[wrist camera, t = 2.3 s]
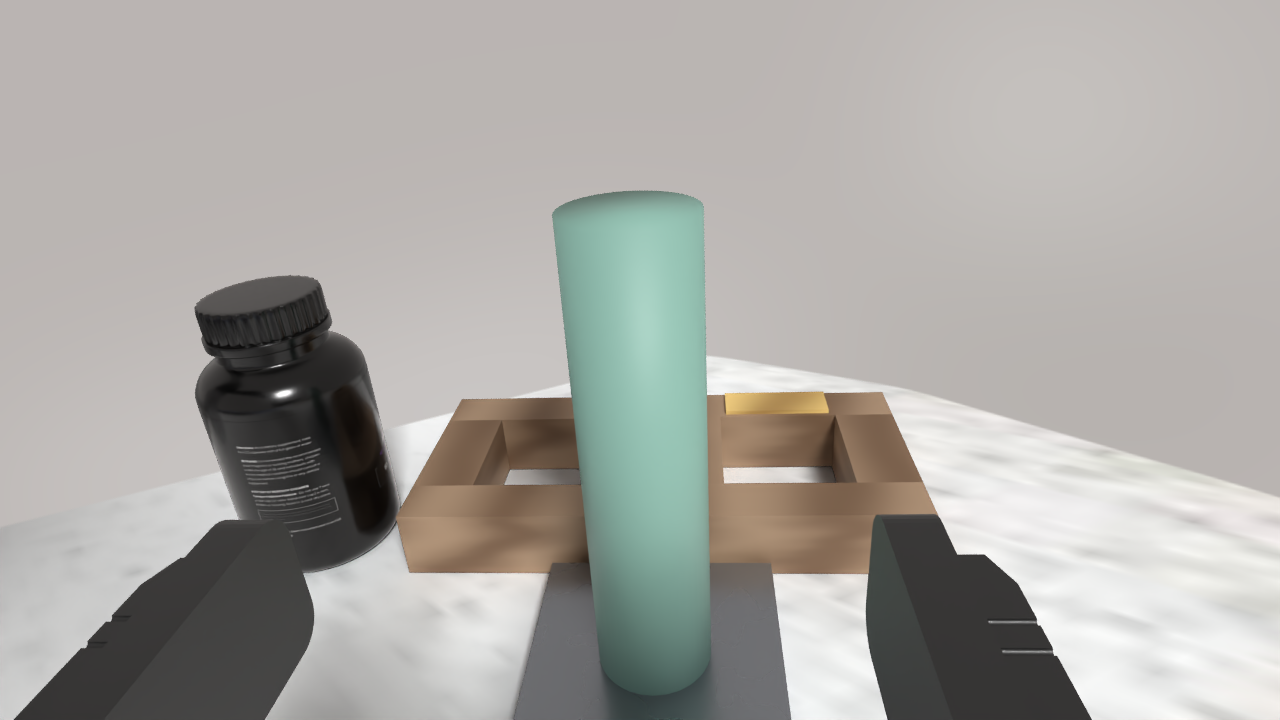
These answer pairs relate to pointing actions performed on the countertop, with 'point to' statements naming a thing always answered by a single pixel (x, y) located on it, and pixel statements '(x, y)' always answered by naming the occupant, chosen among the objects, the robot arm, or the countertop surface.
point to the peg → (641, 427)
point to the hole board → (738, 512)
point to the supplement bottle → (295, 419)
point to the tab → (695, 716)
